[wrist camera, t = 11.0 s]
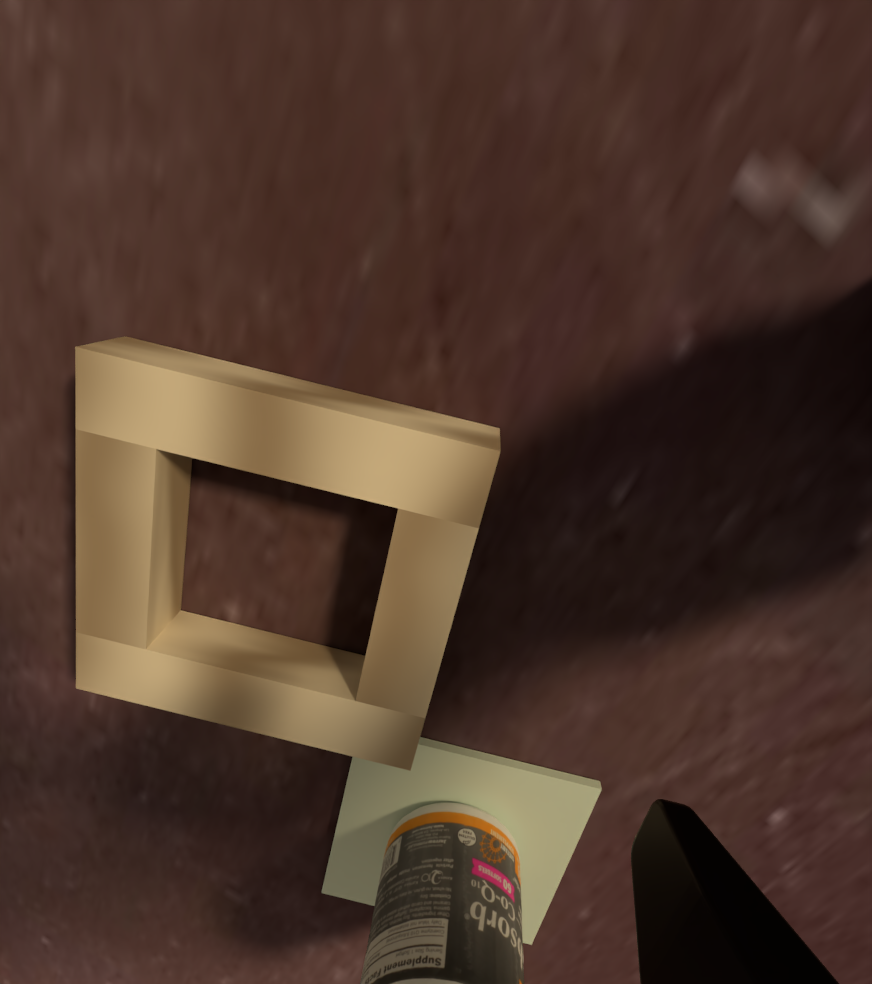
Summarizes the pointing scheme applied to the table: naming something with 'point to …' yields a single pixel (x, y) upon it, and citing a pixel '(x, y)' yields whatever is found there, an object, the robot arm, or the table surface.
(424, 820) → the pill bottle
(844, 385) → the table surface
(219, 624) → the pocket holder
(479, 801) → the mat
